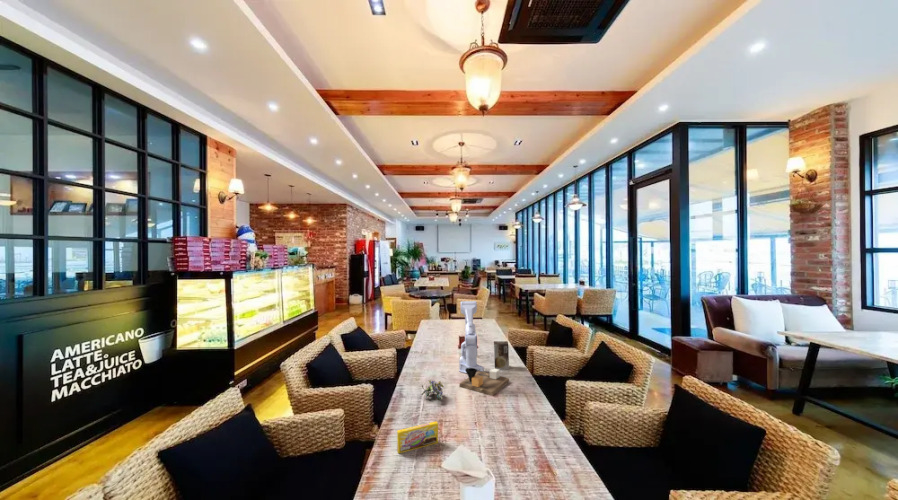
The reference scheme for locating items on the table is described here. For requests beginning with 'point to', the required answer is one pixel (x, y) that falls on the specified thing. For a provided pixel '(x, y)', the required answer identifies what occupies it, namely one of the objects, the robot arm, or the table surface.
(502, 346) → the coffee box
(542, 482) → the table surface
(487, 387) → the console
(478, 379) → the orange fader
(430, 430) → the candy box
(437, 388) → the passion flower
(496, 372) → the white fader
